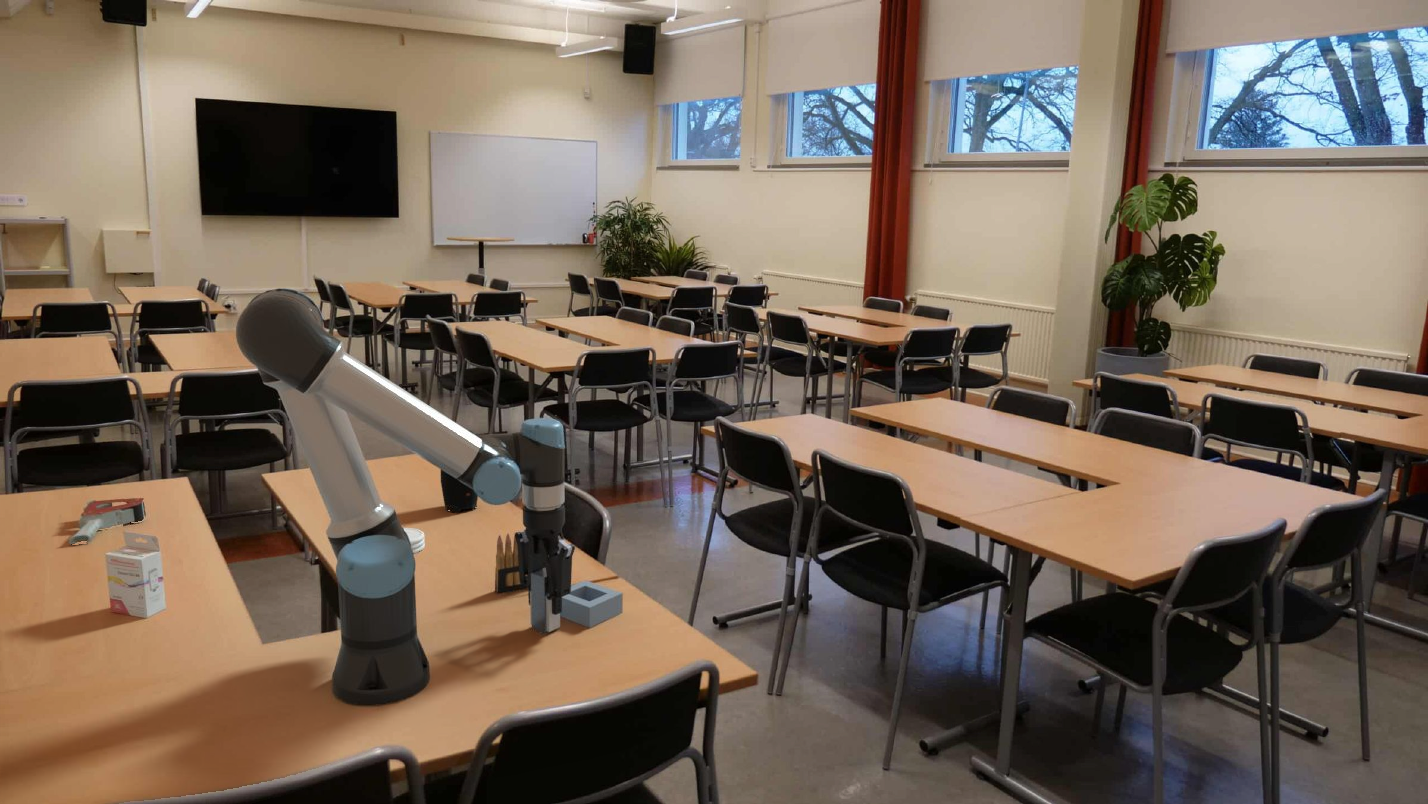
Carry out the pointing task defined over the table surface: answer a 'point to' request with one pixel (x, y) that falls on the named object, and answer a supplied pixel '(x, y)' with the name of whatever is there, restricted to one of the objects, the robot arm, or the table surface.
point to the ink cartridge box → (136, 577)
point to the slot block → (591, 604)
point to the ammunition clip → (507, 567)
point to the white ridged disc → (415, 539)
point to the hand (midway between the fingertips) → (545, 625)
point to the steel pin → (539, 600)
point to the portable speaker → (457, 493)
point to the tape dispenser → (107, 516)
